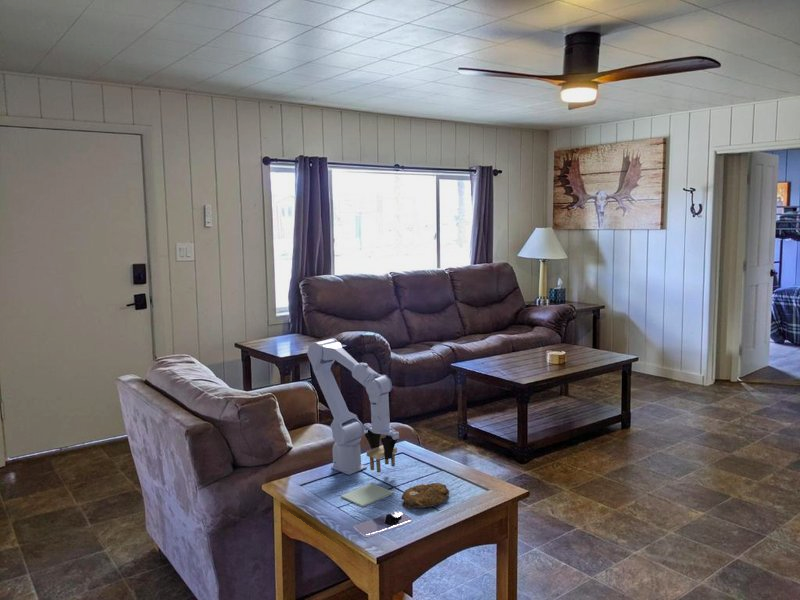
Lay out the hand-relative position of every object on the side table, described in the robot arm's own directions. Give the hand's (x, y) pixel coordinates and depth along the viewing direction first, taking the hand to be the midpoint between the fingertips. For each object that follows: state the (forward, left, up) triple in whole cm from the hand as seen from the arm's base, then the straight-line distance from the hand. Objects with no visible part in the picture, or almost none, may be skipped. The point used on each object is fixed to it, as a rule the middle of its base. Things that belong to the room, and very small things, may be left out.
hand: (382, 456), depth 196 cm
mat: (+6, -12, -7) cm, 15 cm away
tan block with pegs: (0, 0, -4) cm, 4 cm away
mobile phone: (+23, -21, -8) cm, 32 cm away
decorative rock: (+22, -3, -8) cm, 23 cm away
